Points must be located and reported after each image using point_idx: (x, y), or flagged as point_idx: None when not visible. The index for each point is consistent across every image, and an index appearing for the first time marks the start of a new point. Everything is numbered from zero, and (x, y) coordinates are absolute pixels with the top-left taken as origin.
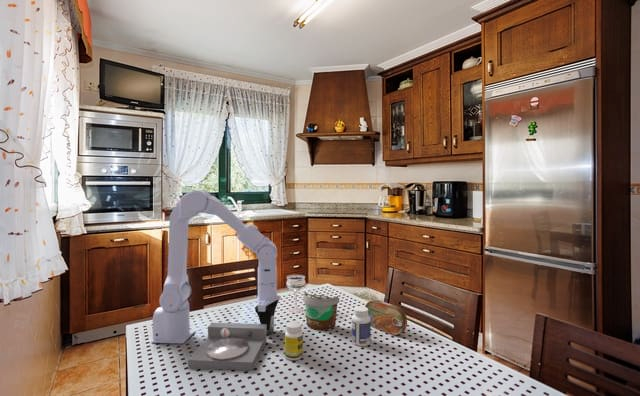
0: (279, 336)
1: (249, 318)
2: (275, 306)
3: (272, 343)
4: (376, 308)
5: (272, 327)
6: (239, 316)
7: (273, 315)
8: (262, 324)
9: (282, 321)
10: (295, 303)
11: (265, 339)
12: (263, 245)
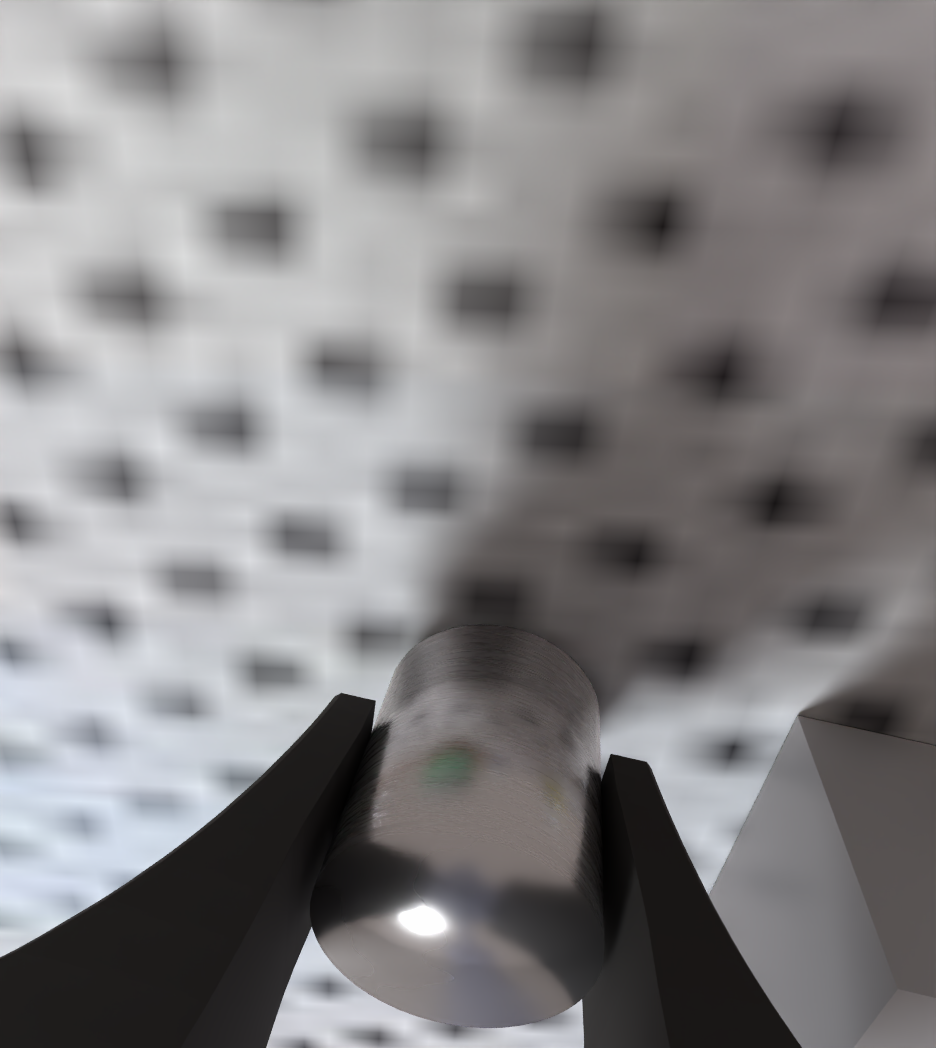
0: (658, 532)
1: (42, 855)
2: (220, 982)
3: (897, 643)
4: None
5: (554, 707)
6: (10, 934)
7: (402, 838)
8: (877, 1041)
9: (53, 461)
10: None
11: (897, 782)
12: None
